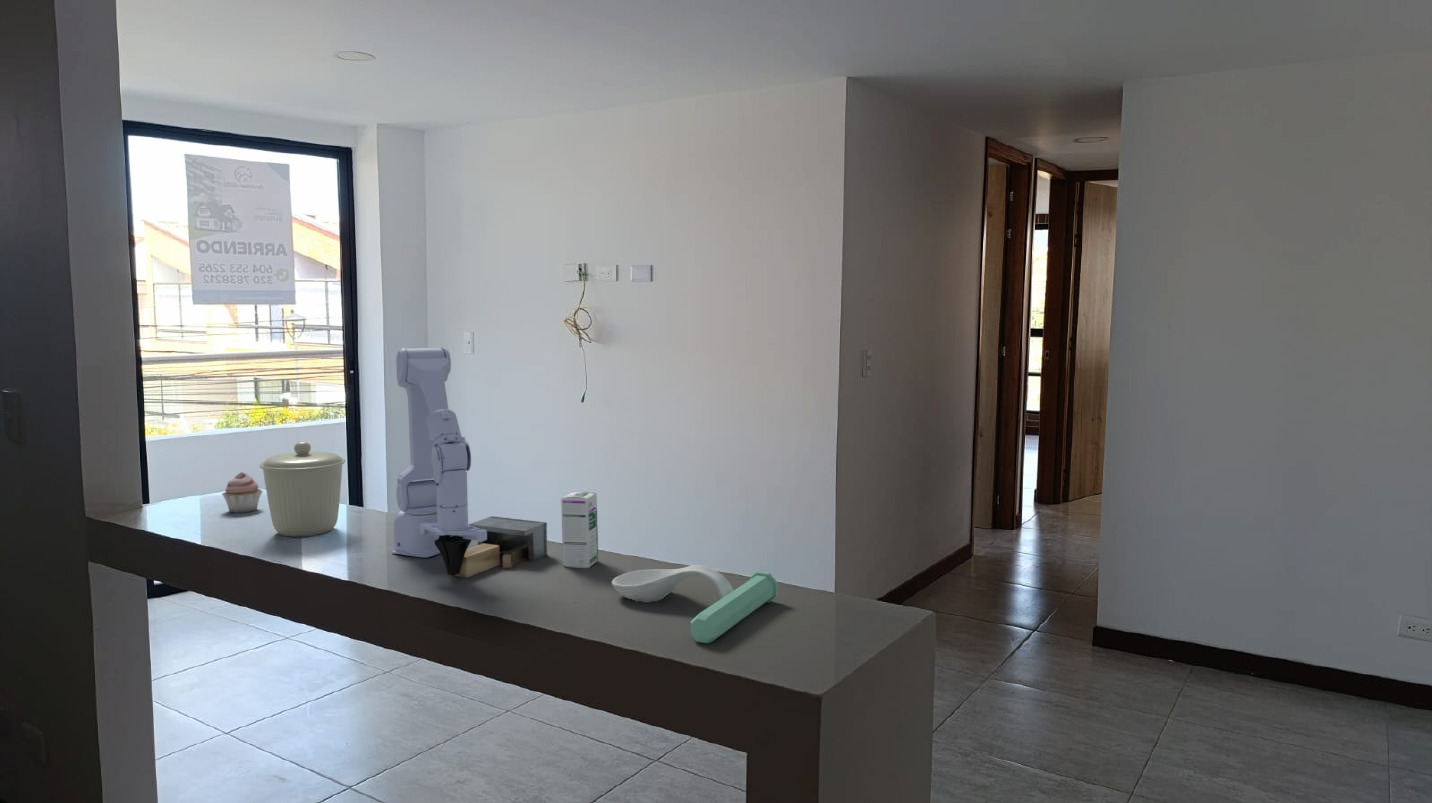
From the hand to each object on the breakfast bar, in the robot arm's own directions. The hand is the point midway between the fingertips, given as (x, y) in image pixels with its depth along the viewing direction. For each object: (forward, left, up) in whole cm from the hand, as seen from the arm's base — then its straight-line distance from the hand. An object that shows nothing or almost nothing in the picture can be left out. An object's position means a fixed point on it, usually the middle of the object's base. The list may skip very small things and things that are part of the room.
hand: (454, 573), depth 182 cm
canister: (-55, +16, -1) cm, 58 cm away
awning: (0, +16, -1) cm, 16 cm away
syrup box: (+17, +19, -1) cm, 25 cm away
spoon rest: (+45, +5, -2) cm, 45 cm away
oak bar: (0, +7, -1) cm, 7 cm away
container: (+58, 0, -2) cm, 58 cm away
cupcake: (-87, +26, -1) cm, 91 cm away
